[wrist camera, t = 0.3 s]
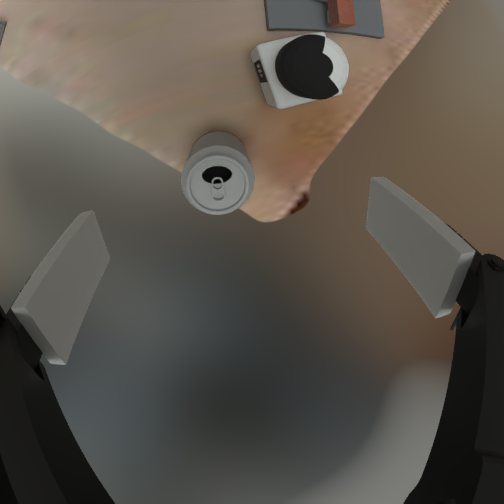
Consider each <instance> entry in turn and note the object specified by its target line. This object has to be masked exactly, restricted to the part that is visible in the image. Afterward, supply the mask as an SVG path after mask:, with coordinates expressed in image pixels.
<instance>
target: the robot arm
mask: <svg viewBox="0 0 504 504" xmlns="http://www.w3.org/2000/svg"><path fill="white" fill-rule="evenodd" d="M366 229H367V230H368V231H369V233H370V234H371V235H372V236H373V237H374V238H375V239H376V241H377V242H378V243H379V244H380V245H381V247H382V248H383V249H384V251H385V252H386V253H387V254H388V255H389V257H390V258H391V259H392V260H393V261H394V263H395V264H396V265H397V267H398V268H399V269H400V271H401V272H402V273H403V274H404V276H405V277H406V278H407V279H408V281H409V282H410V283H411V285H412V286H413V287H414V289H415V290H416V292H417V293H418V294H419V296H420V297H421V298H422V300H423V301H424V303H425V304H426V305H427V307H428V308H429V310H430V311H431V312H432V314H433V315H434V317H435V318H438V317H441V316H444V315H447V314H450V313H451V310H452V308H453V306H454V304H455V302H456V301H457V303H458V304H459V305H460V306H461V307H460V310H459V312H458V314H457V316H456V318H455V320H454V322H453V324H452V326H451V329H450V330H453V328H454V326H456V336H455V345H454V352H453V360H452V366H451V372H450V377H449V383H448V388H447V393H446V398H445V402H444V406H443V410H442V414H441V418H440V422H439V426H438V429H437V433H436V436H435V440H434V443H433V446H432V449H431V452H430V455H429V458H428V461H427V463H426V466H425V469H424V471H423V474H422V477H421V479H420V481H419V483H418V484H417V486H416V487H415V488H414V489H413V491H412V492H411V493H410V494H409V496H408V497H407V498H406V500H405V502H404V504H504V260H503V259H501V258H500V257H498V256H496V255H492V254H484V255H483V256H482V255H481V254H480V253H479V252H478V251H477V250H476V249H475V248H474V247H473V246H472V245H471V244H469V243H468V242H467V241H466V240H465V239H463V237H462V236H461V235H460V234H458V233H456V231H455V230H454V229H453V228H451V227H450V226H449V225H447V224H446V223H444V222H442V221H441V220H440V219H439V218H438V217H437V216H435V215H434V214H432V212H430V211H429V210H428V209H427V208H425V207H424V206H423V205H421V204H420V203H419V202H418V201H416V200H415V199H414V198H413V197H411V196H410V195H409V194H407V193H406V192H405V191H403V190H402V189H400V188H399V187H398V186H396V185H395V184H394V183H392V182H391V181H389V180H388V179H387V178H385V177H371V182H370V193H369V203H368V212H367V221H366ZM109 260H110V257H109V254H108V251H107V249H106V246H105V243H104V240H103V237H102V235H101V232H100V229H99V226H98V223H97V220H96V217H95V213H94V211H93V210H92V211H87V212H82V213H80V214H79V215H78V216H77V218H76V219H75V220H74V221H73V222H72V223H71V225H70V226H69V227H68V228H67V229H66V231H65V232H64V233H63V235H62V236H61V237H60V238H59V239H58V241H57V242H56V243H55V245H54V246H53V247H52V249H51V250H50V251H49V252H48V254H47V255H46V256H45V258H44V259H43V260H42V262H41V263H40V265H39V266H38V267H37V269H36V270H35V272H34V273H33V274H32V276H31V277H30V278H29V279H28V281H27V282H26V284H25V286H24V287H23V288H22V290H21V291H20V294H18V296H17V298H16V299H15V301H14V302H13V304H12V306H11V307H10V309H9V311H8V312H7V314H5V312H4V311H3V309H2V308H1V306H0V504H115V503H114V501H113V500H112V498H111V497H110V496H109V494H108V493H107V491H106V490H105V488H104V487H103V485H102V484H101V482H100V481H99V479H98V478H97V476H96V474H95V473H94V471H93V470H92V468H91V467H90V465H89V463H88V462H87V460H86V458H85V456H84V454H83V452H82V451H81V449H80V447H79V445H78V443H77V441H76V440H75V438H74V436H73V434H72V432H71V430H70V428H69V426H68V423H67V421H66V419H65V417H64V415H63V413H62V410H61V408H60V406H59V403H58V401H57V399H56V397H55V394H54V391H53V389H52V386H51V384H50V381H49V379H48V376H47V373H46V370H45V367H44V366H43V364H42V363H41V362H40V358H41V355H42V353H43V355H44V356H45V357H46V358H47V359H48V361H49V362H50V363H51V364H63V365H66V363H67V360H68V357H69V354H70V352H71V348H72V346H73V343H74V341H75V338H76V335H77V333H78V330H79V328H80V325H81V323H82V320H83V318H84V315H85V313H86V311H87V308H88V306H89V303H90V301H91V299H92V297H93V294H94V292H95V290H96V288H97V285H98V283H99V281H100V279H101V277H102V275H103V272H104V271H105V269H106V266H107V264H108V262H109Z"/></svg>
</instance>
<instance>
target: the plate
mask: <svg viewBox="0 0 504 504" xmlns="http://www.w3.org/2000/svg"><path fill="white" fill-rule="evenodd" d="M264 2H265V11H266V21H267V30H268V31H270V30H296V31H319V32H332V33H342V34H351V35H359V36H366V37H372V38H378V39H380V38H384V29H383V20H382V12H381V4H380V0H353V6H354V14H355V23H356V25H354V26H351V27H349V28H346V29H344V28H335V27H330V20H329V11H328V4H325V3H321V2H318V1H315V0H264Z"/></svg>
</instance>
